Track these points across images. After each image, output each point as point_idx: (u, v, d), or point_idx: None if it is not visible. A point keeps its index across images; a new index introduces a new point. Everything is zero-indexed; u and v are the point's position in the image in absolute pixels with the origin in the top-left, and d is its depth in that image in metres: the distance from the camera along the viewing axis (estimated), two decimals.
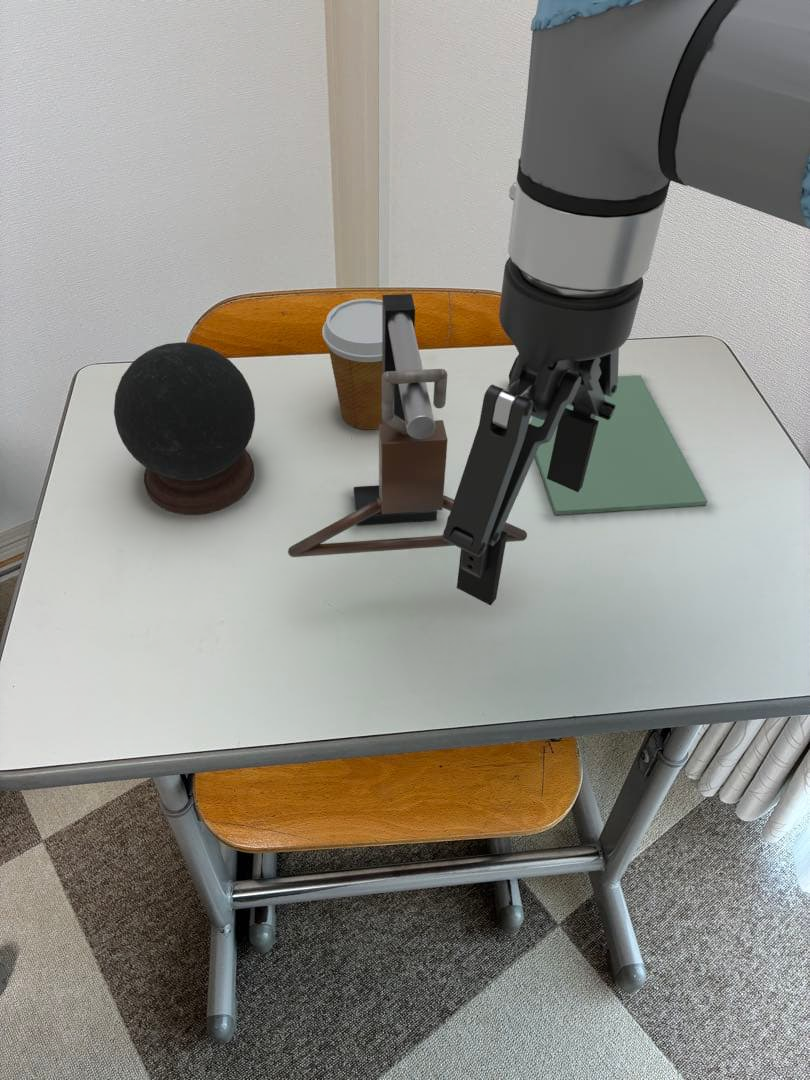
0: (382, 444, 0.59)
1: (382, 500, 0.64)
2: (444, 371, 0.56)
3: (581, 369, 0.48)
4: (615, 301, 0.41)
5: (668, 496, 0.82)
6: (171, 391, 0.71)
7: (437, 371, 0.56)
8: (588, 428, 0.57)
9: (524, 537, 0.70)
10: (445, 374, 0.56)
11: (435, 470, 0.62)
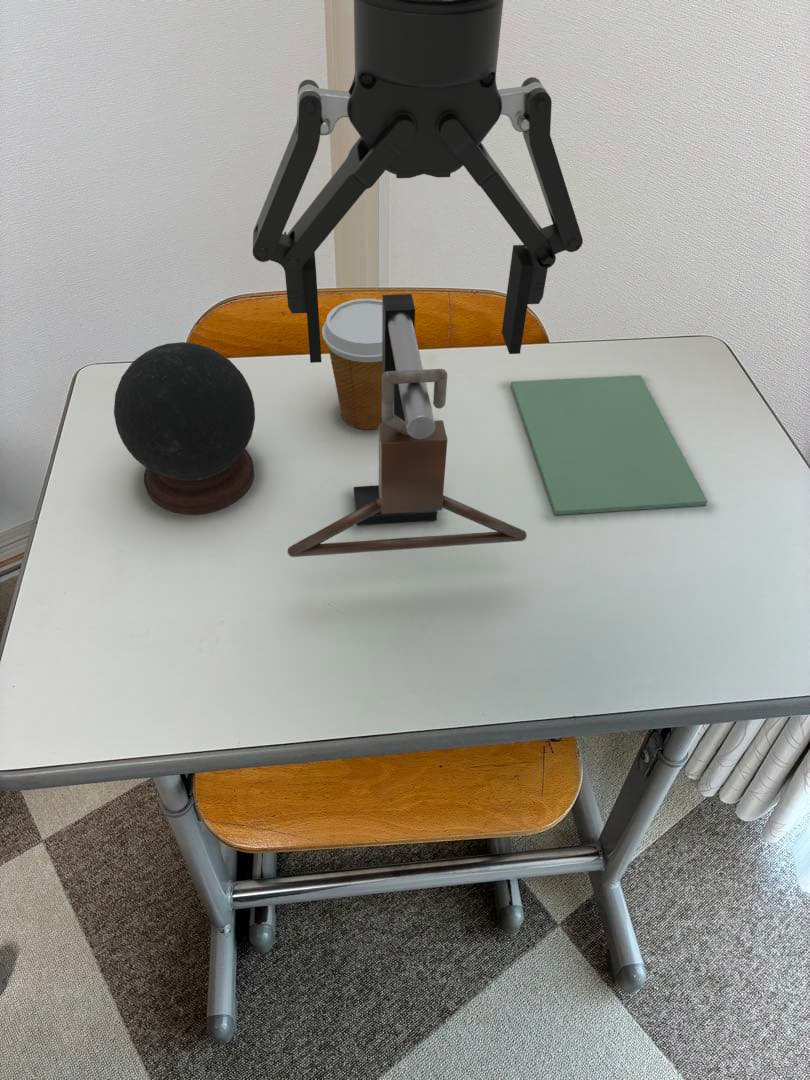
0: (382, 444, 0.59)
1: (382, 500, 0.64)
2: (444, 371, 0.56)
3: (439, 131, 0.43)
4: (402, 5, 0.37)
5: (668, 496, 0.82)
6: (171, 390, 0.71)
7: (437, 371, 0.56)
8: (519, 268, 0.50)
9: (524, 537, 0.70)
10: (445, 374, 0.56)
11: (435, 470, 0.62)
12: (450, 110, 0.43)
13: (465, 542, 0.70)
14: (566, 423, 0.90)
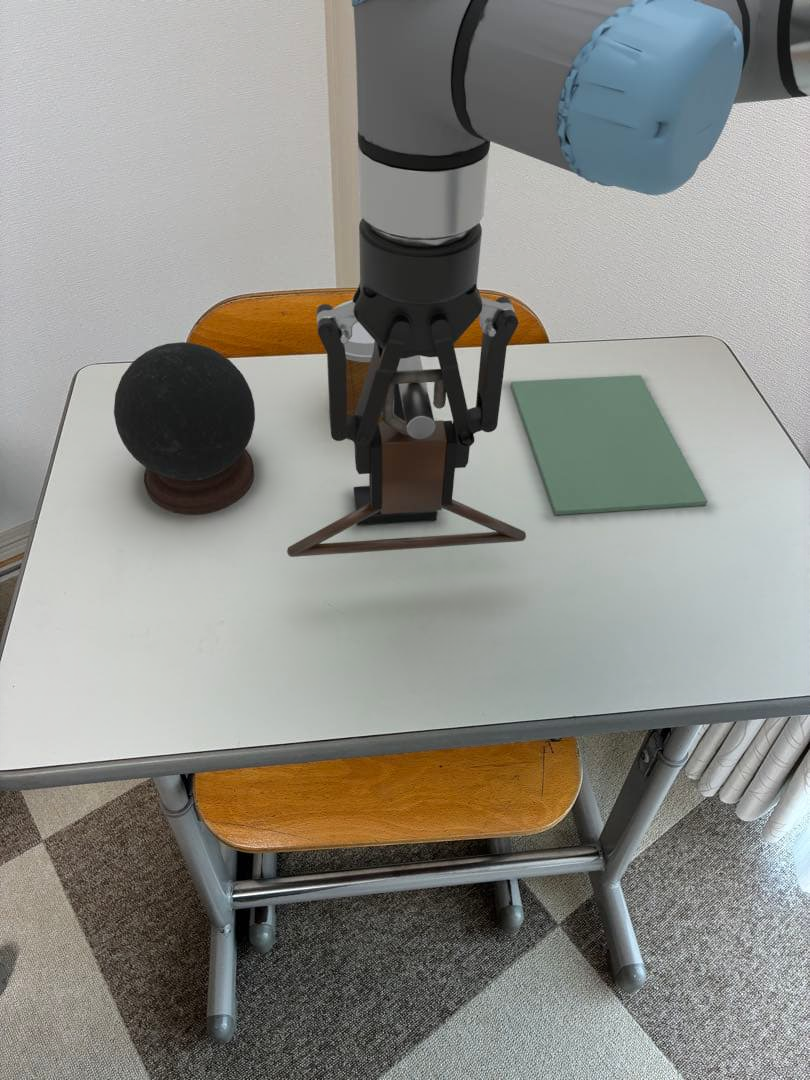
0: (382, 444, 0.59)
1: (381, 500, 0.64)
2: None
3: (430, 326, 0.52)
4: (399, 249, 0.46)
5: (668, 496, 0.82)
6: (171, 390, 0.71)
7: (437, 371, 0.56)
8: None
9: (523, 537, 0.70)
10: None
11: (435, 470, 0.62)
12: (444, 311, 0.52)
13: (465, 542, 0.70)
14: (566, 423, 0.90)
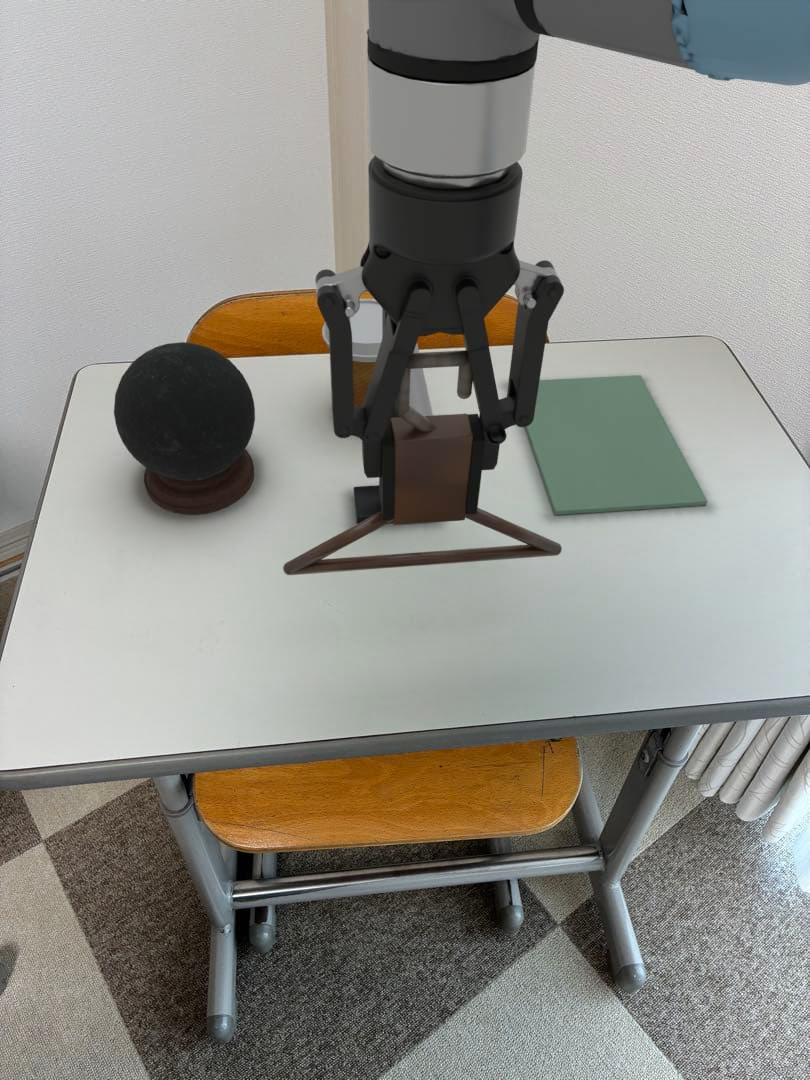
0: (395, 442, 0.49)
1: (394, 509, 0.54)
2: None
3: (456, 295, 0.42)
4: (419, 192, 0.36)
5: (668, 496, 0.82)
6: (171, 390, 0.71)
7: (462, 353, 0.46)
8: None
9: (558, 551, 0.60)
10: None
11: (458, 473, 0.52)
12: (473, 277, 0.42)
13: (490, 557, 0.60)
14: (566, 423, 0.90)
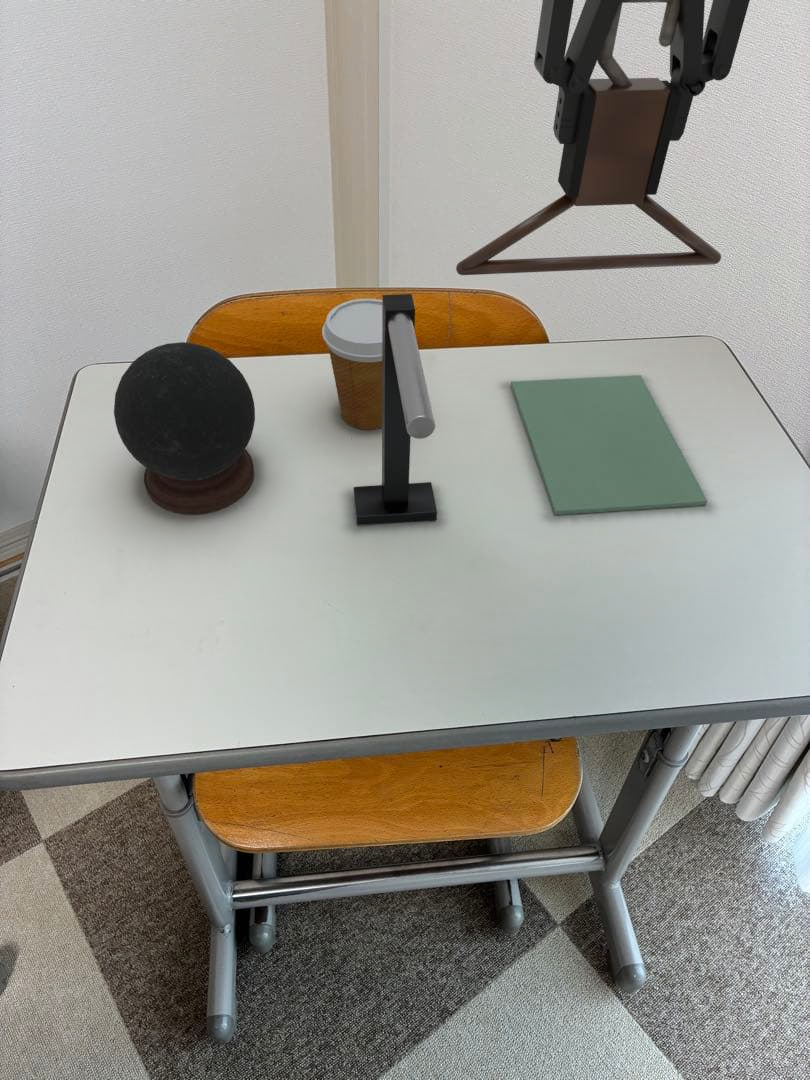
0: (596, 93, 0.51)
1: None
2: None
3: None
4: None
5: (668, 496, 0.82)
6: (171, 390, 0.71)
7: None
8: None
9: (718, 258, 0.62)
10: None
11: (647, 138, 0.54)
12: None
13: (654, 262, 0.61)
14: (566, 423, 0.90)
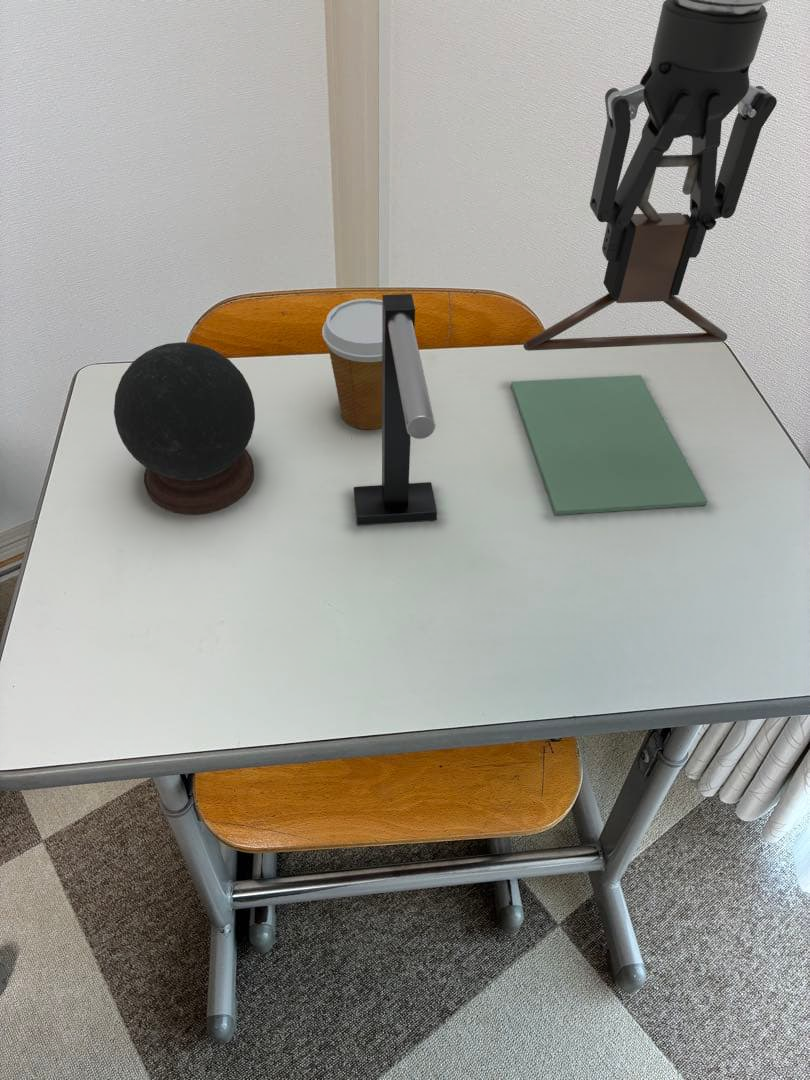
0: (636, 227, 0.69)
1: None
2: None
3: (706, 103, 0.62)
4: (709, 17, 0.56)
5: (668, 496, 0.82)
6: (171, 390, 0.71)
7: (694, 155, 0.66)
8: None
9: (725, 337, 0.80)
10: None
11: (672, 257, 0.72)
12: (719, 90, 0.62)
13: (675, 340, 0.80)
14: (566, 423, 0.90)
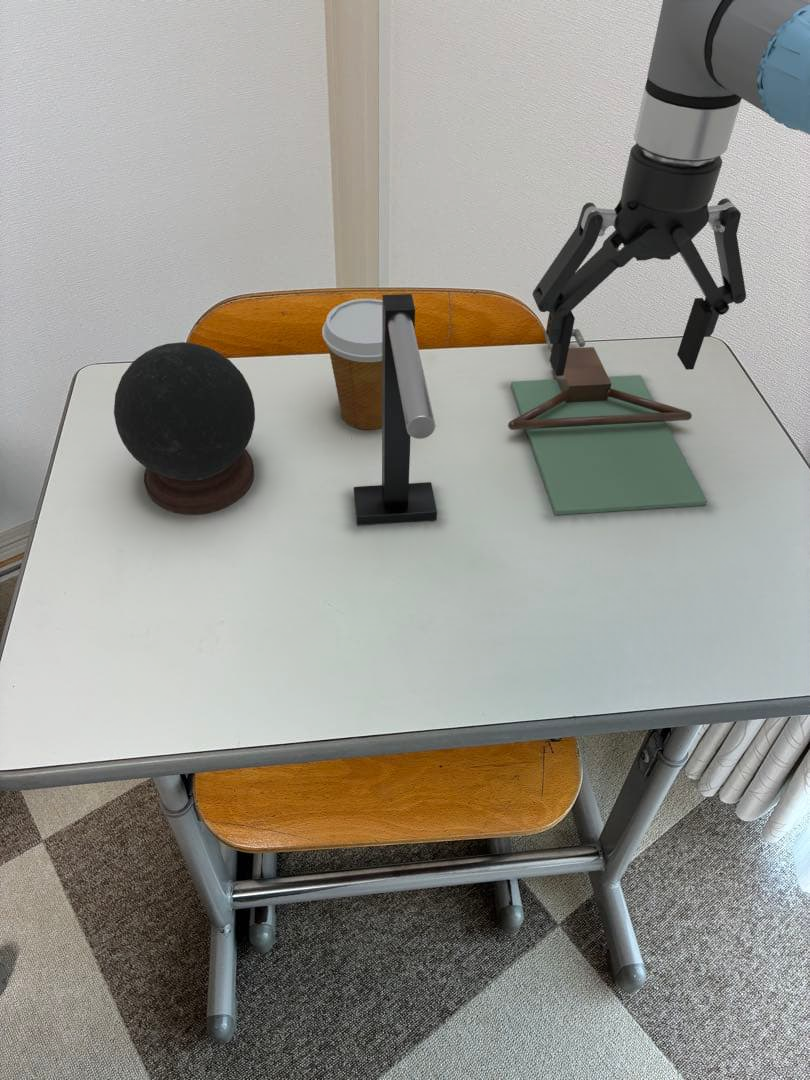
0: None
1: (566, 378, 0.92)
2: None
3: (670, 233, 0.70)
4: (670, 169, 0.64)
5: (668, 496, 0.82)
6: (171, 390, 0.71)
7: (573, 330, 1.01)
8: (702, 314, 0.77)
9: None
10: (578, 329, 1.00)
11: (594, 361, 0.94)
12: (678, 221, 0.69)
13: (644, 414, 0.89)
14: None
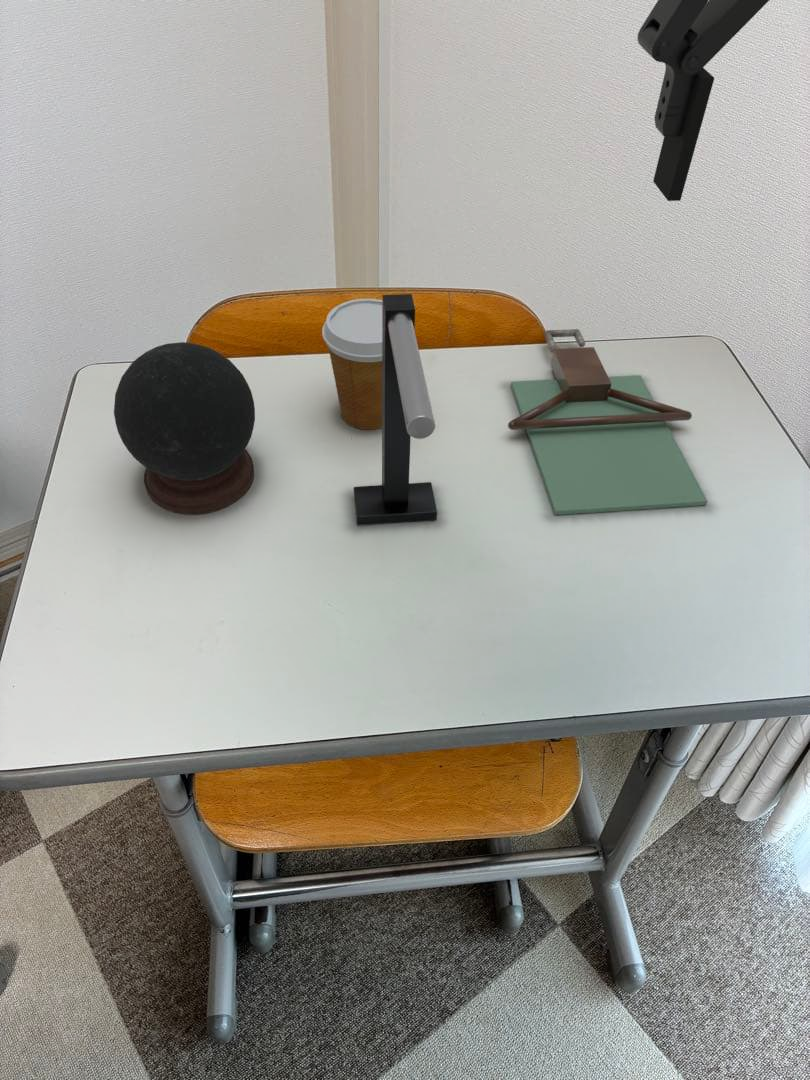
0: (554, 349, 0.96)
1: (566, 378, 0.92)
2: None
3: None
4: None
5: (668, 496, 0.82)
6: (171, 390, 0.71)
7: None
8: None
9: None
10: (578, 329, 1.00)
11: (594, 361, 0.94)
12: None
13: (644, 414, 0.89)
14: None
